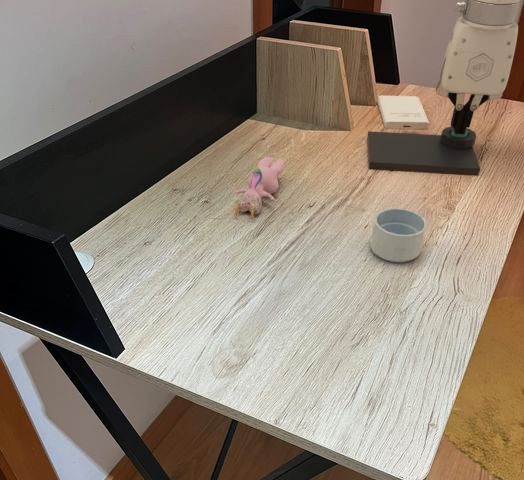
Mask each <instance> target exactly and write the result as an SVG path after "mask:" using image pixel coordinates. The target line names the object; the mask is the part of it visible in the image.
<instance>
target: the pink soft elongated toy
mask: <svg viewBox="0 0 524 480" xmlns="http://www.w3.org/2000/svg"><path fill="white" fill-rule="evenodd" d="M274 159H275V157H272V156H264V157H263V158H261V159H260V160H259V162H258V163H257V165H256V168H255V169H254V171H253V173H252V174H251V175H250V177H248V179H247V181H246V185H247V186H248V188H241V189H237V190H235V194H236V195H239V194H241V196H240V198H239V199H238V203H237V205H236V207H235V210H234V213H233V216H235V218H236V219H237V218H238V217H239V218H240V214H239V211H240V212H241V213H246V212H249V213H250V215H249V217H248V219H251V220H252V222H253V221H255V216H254V215H258V214H260V212H261V210H262V207H263V202H262V199H263V198H269V200H270V201H271V202H274V201H275V197H274V196H273V195H272V194H274V193H276V192H277V191H278V189H279V187H280V186H279V181H278V177H279V176H280V175H281V174H282V173H283V170H284V167H285V160H284V159H282V158H280V159H277V160H275V161H274ZM273 161H274V162H273Z"/></svg>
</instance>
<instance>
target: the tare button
mask: <svg viewBox="0 0 524 480" xmlns="http://www.w3.org/2000/svg"><path fill="white" fill-rule="evenodd" d="M451 135H452V136H455V137H461V138H464V137H467V135H468V131H467V130H466V131H465V134H461V133H458V134H455V132H454V129H452V131H451Z"/></svg>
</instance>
